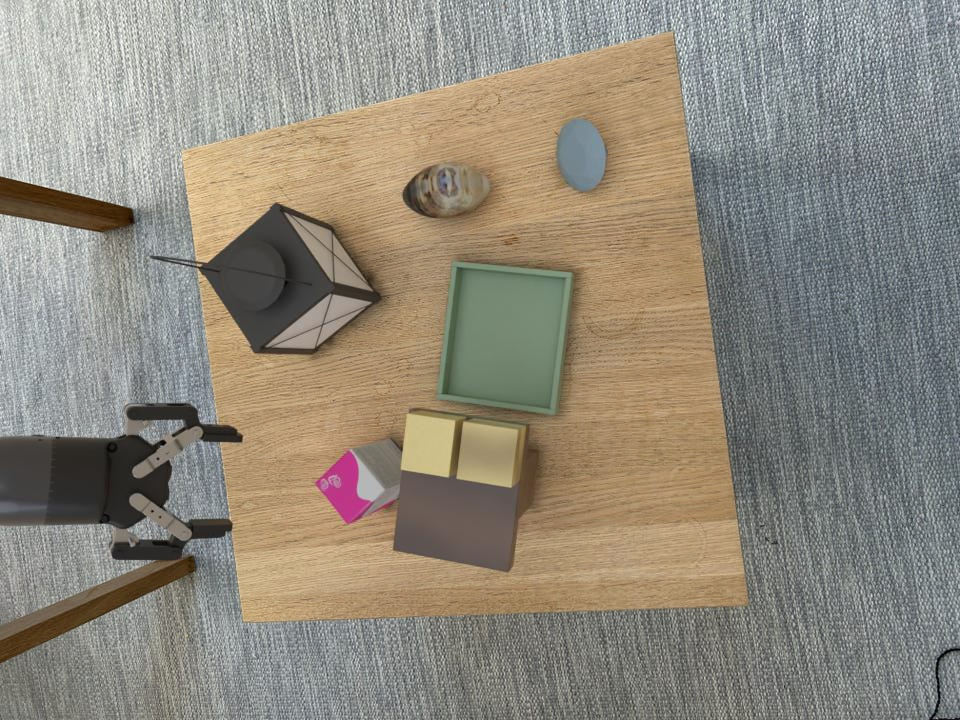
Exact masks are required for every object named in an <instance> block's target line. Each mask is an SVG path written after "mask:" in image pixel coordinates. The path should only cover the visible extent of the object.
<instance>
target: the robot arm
mask: <svg viewBox="0 0 960 720" xmlns="http://www.w3.org/2000/svg"><path fill="white" fill-rule="evenodd" d="M123 414H124V415H125V426H124V427H125V428H124V434H122V435H119V436H116V437H86V436H84V437H82V436H51V435H45V434H31V435H6V436H0V527H39V526H45V527H46V526H80V525H82V526H84V525H110V526H112V527H114V531H113V537H112V539H111V541H110V542H109V543H108V549H109V553H110V554H111V557H112V559H113V560H116V561H178V560H179V559H181V558H182V556H183V550H184V548H185V546H186V544H187V543H189V541H191V540H200V539H201V540H203V539H221V538H223V537H225V536H226V533H229V532H233V527H234V523H233V521H232V520H231V519H230V518H224V517H223V518H222V517H221V518H220V517H219V518H193V519H192V518H189V519H188V522H185V521H184V520H183V519H181V518H179V517H178V516H177V515H176V514H174V513H173V512H172V511H171V510H170V509H168V508H167V507H166V506H165V505H166V504H167V501H170V493H171V491H170V486H169V482H170V480H171V478H172V475H173V465H172V463H171V459H172V458H174V457H175V456H178V454H180V453H182V451H184V449H186V448H187V447H188V446H190V445H191V444H193V443H194V442H196V441H198V440H201V442H203V443H229V444H230V443H231V444H232V443H234V444H241V443H243V441H244V434H242V433H241V432H239V431H238V429H237V428H236V427H234V426H232V425H230V424H218V423H217V424H215V423H201V420H200V418H199V410H198V408H196V407H195V406H193V405H192V404H191V403H189V402H129V403H127V404H125V405H124V407H123ZM153 421H182V424H183V425H182V426H180V427H179V428H177V429H176V430H174V431H172V432H171V433H167V434H166V435H164V436H162V437H160V438H159V439H158V440H156V441H155V442H152V443H151V442H149V441H148V440H147V439H145V438H144V437H142V436H141V435H139V432H140V431H142V429H147V428H149V427H150V426H151V425H152V423H153ZM146 518H149V519H150V520H151V521H153V522H154V523H156V524H157V525H158V526H159V527H161V528H162V529H164V530H166V531H167V532H169V533H170V535H169V538H168V539H151V538H150V539H147V538H146V539H145V538H144V539H142V538H139V537H138V535H137V534H136V533H134V532H130V531H129V530H128V529H131V528H132V527H133V526H136V525H137V524H138V523H140V522H142V521H143V520H144V519H146Z"/></svg>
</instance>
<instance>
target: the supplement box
mask: <svg viewBox="0 0 960 720" xmlns="http://www.w3.org/2000/svg"><path fill="white" fill-rule="evenodd" d="M402 452H403V449H402V448H401V447H400V446H399V445H398V444H397V442H396V441H395V440H394V439H393V438H388V439H383V440H379V441H375V442H372V443H368V444H364V445H360V446H356V447H352V448H349V449H348V450H347V451H346V452H345V453H344V454H343V455H342V456H341V457H340V458H339V459H337V461H335V462H334V464H333V465H331V467H330V468H328V469H327V470H326V471H325V472H324V473H323V474H322V475H321V476H320V477H319V478H318V479H317V480H316V481H315V483H314V485H315V486H316V488H317V489H318V490H319V491H320V492H321V494H322V495H323V496H324V497H325V498H326V499H327V500H328V502H329V503H330V504H331V506H332V507H333V508H334V510H335V511H336V513H338V515H339V516H340V517H341V518H342V521H344V523H345V524H346V525H350V524H352V523H355V522H357V521H360V520H361V519H363V518H365V517H367V516H370V515H371V514H375V513H376V512H379V511H381V510H383V509H385V508H387V507H389V506H391V505H392V504H393V503H394V502H395V501H396V500H399V492H400V484H401V475H402V470H401V461H402Z"/></svg>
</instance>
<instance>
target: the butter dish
mask: <svg viewBox="0 0 960 720" xmlns="http://www.w3.org/2000/svg"><path fill="white" fill-rule="evenodd" d="M575 280H576V275H575V274H574V273H573V272H572V271H563V270H562V271H561V270H552V269H551V270H550V269H540V268H531V267H530V268H529V267H519V266H510V265H509V266H508V265H498V264H489V263H478V262H476V263H475V262H468V261H467V262H466V261H456V260H452V261H451V270H450V279H449V286H448V296H447V303H446V313H445V321H444V329H443V337H442V346H441V355H440V361H439V371H438V378H437V379H438V381H437V387H436V388H437V389H436V396H435V398H436V400H442V401H449V402H450V401H451V402H456V403H457V402H458V403H465V404H471V405H472V404H473V405H479V406H487V407H491V408H498V409H499V408H501V409H507V410H514V411H521V412H528V413H534V414H535V413H536V414H543V415H550V416H555V415H558V414H559V410H560V403H561V395H562V388H563V387H562V386H563V379H564V370H565V362H566V355H567V354H566V353H567V345H568V339H569V338H568V337H569V329H570V321H571V314H572V313H571V312H572V305H573V296H574V289H575V282H576V281H575Z"/></svg>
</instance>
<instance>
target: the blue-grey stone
mask: <svg viewBox="0 0 960 720" xmlns="http://www.w3.org/2000/svg"><path fill="white" fill-rule="evenodd" d="M555 151H556V152H555V154H556V161H557V166H558V169H559V171H560V173H561V175H562V178H563V180H564V181H565V182H566V183H567V184H568V185H569V187H571V188H572V189H574V190H576V191H579V192H580V193H582V192H584V193H585V192H589V191H593V190H594V188H596V187H597V186H598V185H599V184H600V183H601V180H602V178H603V177H604V174H605V172H606V164H607V156H608V149H607V146H606V144H605V142H604V139H603V138H602V136H601V132H599V130H598V128H597V127H596V126H595V125H594V124H593V123H592V122H591V121H590V120H587V119H584V118H581V117H577V118H573V119H569V120H568V121H567V122H566V123H565V124H564V125H563V126H562V127H561V129H560V132H559V134H558V137H557V139H556V150H555Z"/></svg>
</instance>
